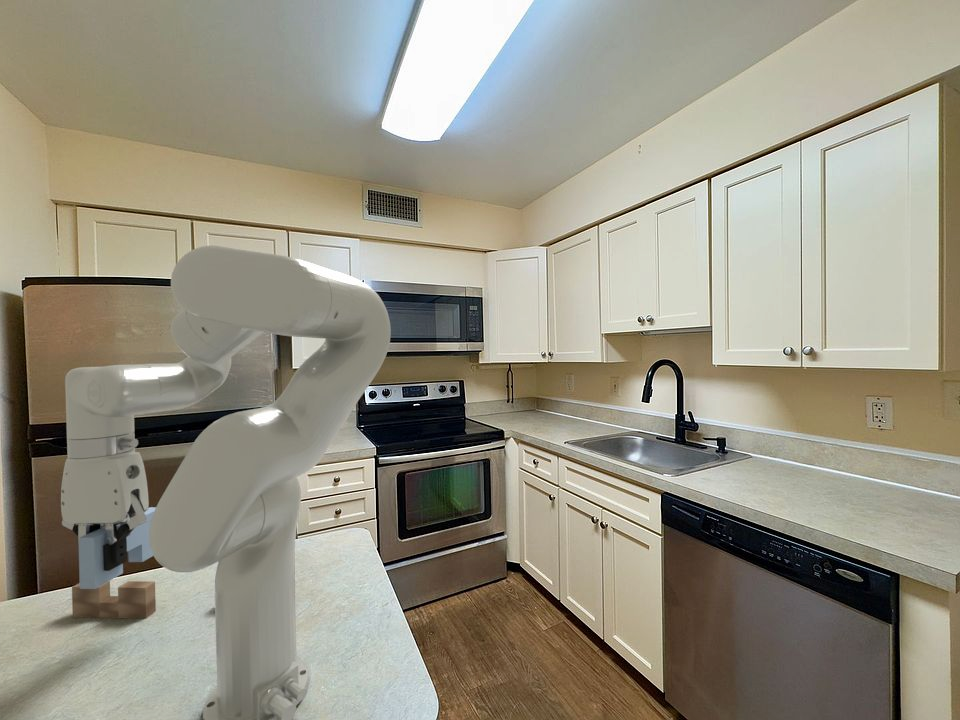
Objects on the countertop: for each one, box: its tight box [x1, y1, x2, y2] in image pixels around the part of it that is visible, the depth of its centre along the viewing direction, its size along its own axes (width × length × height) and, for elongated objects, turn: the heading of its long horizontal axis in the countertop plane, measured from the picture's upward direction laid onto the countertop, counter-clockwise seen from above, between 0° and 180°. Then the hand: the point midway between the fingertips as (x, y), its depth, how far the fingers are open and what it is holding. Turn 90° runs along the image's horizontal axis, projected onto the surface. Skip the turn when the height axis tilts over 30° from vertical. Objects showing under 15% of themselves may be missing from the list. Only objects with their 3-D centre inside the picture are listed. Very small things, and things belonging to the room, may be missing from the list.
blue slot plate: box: [77, 506, 157, 589], centre depth 64 cm, size 12×2×8 cm, turn 177°
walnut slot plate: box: [71, 580, 157, 619], centre depth 73 cm, size 14×2×6 cm, turn 87°
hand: (105, 565), depth 61 cm, fingers closed on blue slot plate, 2 cm apart
